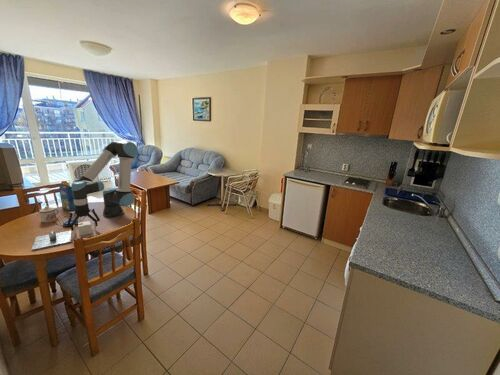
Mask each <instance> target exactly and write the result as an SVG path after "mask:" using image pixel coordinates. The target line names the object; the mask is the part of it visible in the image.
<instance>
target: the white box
mask: <svg viewBox="0 0 500 375" xmlns="http://www.w3.org/2000/svg"><path fill="white" fill-rule="evenodd" d="M77 224H78V225H77V227H78V234H79V236H85V235H89V234H92V233H93V232H92V231H93V230H92V229H93V228H92V222H91V220H87V221H82V222H81V221H80V222H77Z"/></svg>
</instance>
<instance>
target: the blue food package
mask: <svg viewBox="0 0 500 375" xmlns="http://www.w3.org/2000/svg"><path fill="white" fill-rule="evenodd" d="M58 190H59V191H58V192H59V197H60V202H61V206H62V209H64V210H66V211H70V212H73V211H75V206H74V205H75V204H74V200H73V194H72V187H71V184H70V182H67V181H64V180H61V185H60V186H59V189H58Z"/></svg>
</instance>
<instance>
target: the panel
mask: <svg viewBox="0 0 500 375" xmlns="http://www.w3.org/2000/svg"><path fill="white" fill-rule="evenodd" d="M67 243H68V244H72V230H66V231H62V232H56V231H55V230H52V231H51V230H50V231H49V232H48V234H44V235H38V236H36V237H35V240H34V242H33V245H32V247H31V251H32V250H34V251H39V250H43V248H44V249H47V248H48V247H49V248H53V247H58V246H62V244H63V245H68V244H67ZM57 245H58V246H57ZM52 246H53V247H52ZM38 249H39V250H38Z"/></svg>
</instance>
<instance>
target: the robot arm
mask: <svg viewBox="0 0 500 375" xmlns="http://www.w3.org/2000/svg"><path fill="white" fill-rule="evenodd" d="M138 153H139V148H138V147H137V145H136V144H135V143H134V142H132V141H130V140H128V141H127V140H118V139H117V140H113V141H111V142H110V143H108V144H107V145H106V146H105V147H104V148H103V149H102V153H101V154H100V155H99V156H98V157H97V158H96V159H95V161H94V162H93V163H92V164H91V165H89V168H87V170H86V171H85V172H84V173H83V175H81V177H80V178H76V179H74V180H73V182H72V183H71V184H70V186H71V187H72V194H73V200H74V204H75V205H74V206H75V210H74V211H70V212H69V217H68V221H67V224H66V226H67V227H69V228H71V229H70V231H73V235H74V236H76V235H77V230H76V226H75V223H76V222H77V221H78V219H79V218H83V217H88V218H89V219H91V220H92V221H93V225H94V231H95V232H97V227H98V222H100V221H101V219H100V217H99V216H98V214H97V213H96V211H95V208H92V209H90V208H89V207H90V206H89V202H88V201H89V200H88V195H90V194H95V193H98V192H101V191H102V196H103V206H104V208H103V211H102V215H103V217H105V218H115V217H119V216H121V215H123V214H124V209H123V207H124V208H126V207H130V206H131V205H132V204H133V203H134V201H135V195H134V194H133V192H132V189H131V180H132V178H131V177H132V161H133V160H134V159H135V156H137V154H138ZM116 156H117V158H118V159H119V164H118V167H119V168H118V183H117V185H118V186H117V187H110V188H106V189H105V184H104V182H102V181H100V180H96V181H95V179H96V178H97V177H98V176H99V174H100V173H101V172H102V171H103V170H104V168H105V167H106V166H107V165H108V164H109V163H110V162H111V160H112V159H114V158H116ZM90 212H91V213H92V214H93V216H94V217H93V216H92V214H90ZM74 215H76V216H75V218H74V219H73V221H72V218H73V216H74ZM71 221H72V222H71Z"/></svg>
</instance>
